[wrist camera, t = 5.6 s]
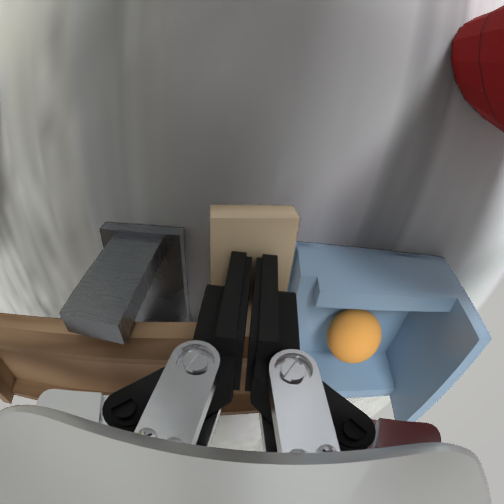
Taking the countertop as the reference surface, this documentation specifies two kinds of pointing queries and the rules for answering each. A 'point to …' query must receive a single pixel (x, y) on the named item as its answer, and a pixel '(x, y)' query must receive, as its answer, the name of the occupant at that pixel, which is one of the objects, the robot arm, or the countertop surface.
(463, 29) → the plastic cup
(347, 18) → the countertop surface
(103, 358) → the lever
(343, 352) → the ball
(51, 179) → the countertop surface
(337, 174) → the countertop surface
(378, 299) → the blue tray
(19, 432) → the robot arm
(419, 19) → the countertop surface
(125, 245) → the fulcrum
